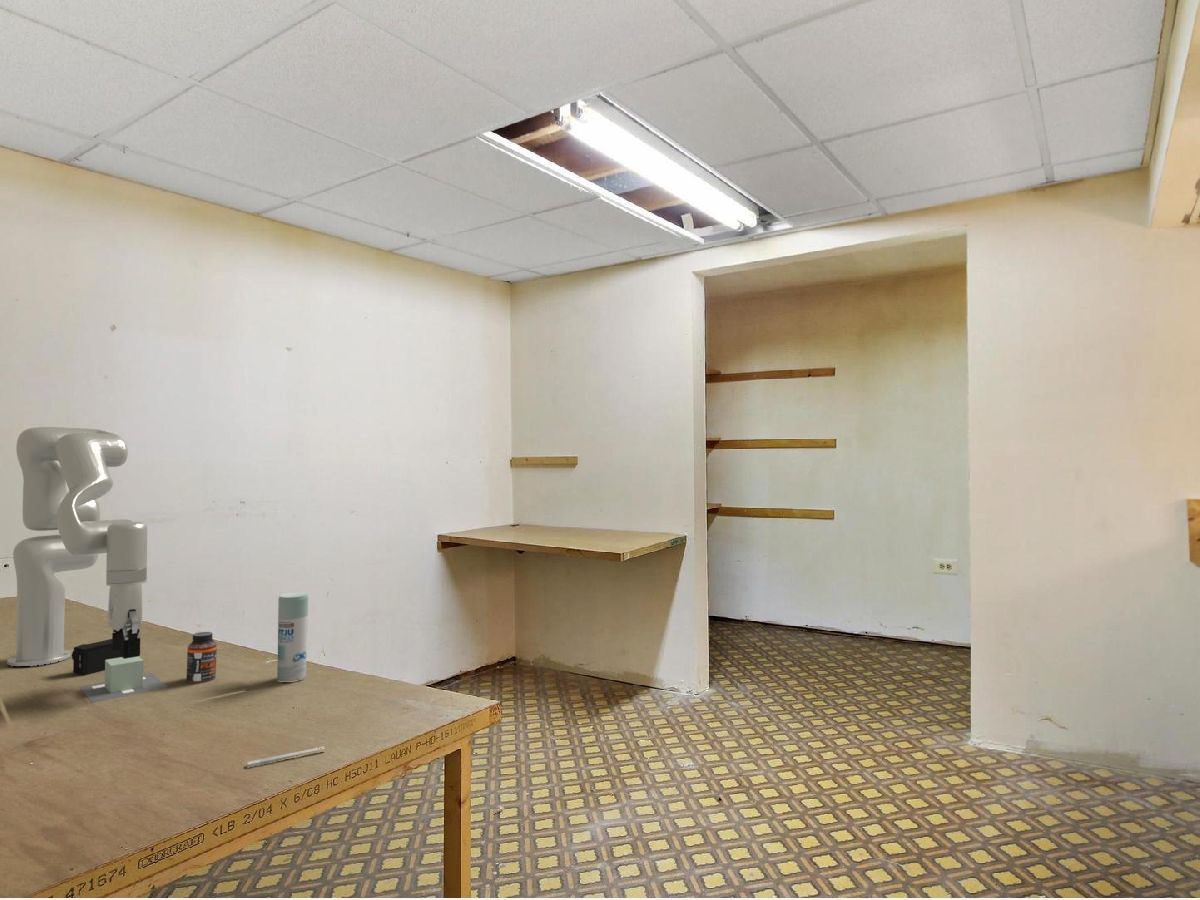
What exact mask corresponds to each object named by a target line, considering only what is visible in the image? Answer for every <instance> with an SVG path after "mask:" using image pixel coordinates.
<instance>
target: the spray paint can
mask: <svg viewBox="0 0 1200 900" xmlns="http://www.w3.org/2000/svg"><path fill="white" fill-rule="evenodd" d="M277 601H278V608H277V609H278V610H277V612H278V613H277V614H278V615H277V616H278V617H277V625H278V626H277V668H276V669H277V670H276V671H277V672H276V673H277V681H278V680H279V681H294V680H300V679H302V678H304V677H305V676H306V677H307V656H308V655H307V654H308V653H307V651H308V649H307V648H308V620H309V616H308V615H309V595H308V593H307V592H302V591H300V592H297V591H296V592H294V591H293V592H286V593H282V594H280V595H279V596H278V600H277Z"/></svg>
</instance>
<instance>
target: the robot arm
mask: <svg viewBox="0 0 1200 900" xmlns="http://www.w3.org/2000/svg"><path fill="white" fill-rule="evenodd" d="M15 451H16V457H17V460H18V462H19V463H18V464H19V465H20V469H21V472H22V476H23V477H22V478H23V480H22V481H23V484H22V485H23V486H22V521H23V525H24V527H25V528H26V529H27V530H30V531H35V532H36V531H37V532H41V531H42V532H45V531H58V533H59V534H53V535H52V534H51V535H38V536H33V537H29V538H25V539H22V540H21V541H19V542H18V543H17V544H16V545H15V546H14V548H13V552H12V556H13V558H12V559H13V564H14V569H15V574H16V575H15V576H16V589H17V590H16V594H17V595H16V630H15V631H16V632H15V634H16V636H15V655H13V656H10V657H9V658H8V659H7V660H6V664H7V666H9V665H10V666H9V667H13V666H30V667H36V666H37V665H39V666H45V665H44V664H46V665H50V663H51V664H55V663H58V661H59V662H63V661H65V660H67V659H69V658H70V657H72V651H71V650H70V649H66V648H65V645H64V644H65V643H64V642H65V616H66V615H65V609H66V589H65V586H64V584H63V583H62V582H61V581H60V580H59V579H58V578H57V577H56V576H55V574H56V573H60V572H68V571H76V570H84V569H88V568H91V567H93V566H94V565H95V564H96V563H97V561H98V558H99V554H100V555H101V554H106V573H105V575H106V576H105V577H106V580H105V583H106V586H107V587H109V593H108V602H107V603H108V606H107V620H106V621H107V622H106V623H107V626H108V627H110V628H111V629H112V633H111V635H112V638H111V639H112V650H114V651H115V650H122V657H123V658H124V659H126V658H132V657H138V656H139V657H141V633H140V632H141V631H140V627H141V626H142V625H143V586H142V584H144V583H147V582H148V578H147V577H148V575H147V574H148V526H147V524H146V523H144V522H142V521H132V520H131V519H130V520H129V519H106V520H105V519H103V520H101V509H100V505H99V502H98V500H97V499H99V498H102V497H103V496H105V495H106V494H108V493H109V492H110V491H111V490H112V488H113V484H114V483H113V479H112V477H111V474H110V471H109V469H108V468H117V467H121V466H122V465H124V464H125V462H126V461H127V460H128V456H129V455H128V454H129V450H128V446H127V443H126V442H125V440H124V439H123V438H122V437H121V436H120V435H118V434H117V433H113V432H109V431H106V430H102V429H96V428H79V427H78V428H76V427H75V428H73V427H64V426H63V427H62V426H59V427H58V426H38V427H31V428H26V429H24V430H23V431H22V432H21V433H20V434H19V436H18V438H17V440H16V450H15ZM56 461H57V462H58V463H59V464H58V463H57V462H56ZM67 487H68V492H67Z"/></svg>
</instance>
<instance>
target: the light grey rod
mask: <svg viewBox="0 0 1200 900" xmlns="http://www.w3.org/2000/svg"><path fill="white" fill-rule="evenodd" d="M318 747H319V749H318ZM318 747H314V748H308V749H305V750H301V751H294V752H290V753H284V754H281V755H275V756H271V757H266V758H260V759H256V760H251V761H246V767H247V769H251V768H250V767H252V768H255V767H254V766H257V767H259V766H258V765H262V766H264V765H263V764H267V763H269V762H274V761H279V760H282V759H286V758H290V757H294V756H298V755H301V754H304V753H308V752H312V751H317V750H322V749H325V750H326V747H325V746H318ZM320 748H322V749H320ZM267 765H268V764H267Z"/></svg>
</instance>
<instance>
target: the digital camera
mask: <svg viewBox="0 0 1200 900" xmlns="http://www.w3.org/2000/svg"><path fill="white" fill-rule="evenodd" d="M120 657H122V650H115V651H114V650H112V638H108V639H105V640H99V641H95V642H91V643H86V644H85V643H83V644H79V645H77V646H74V647H73V651H72V652H71V658H72V662H73V664H72V665H73V671H72V672H73V674H74V675H78V676H89V675H92V674H96V673H100V672H103V671H104V672H105V660H108V659H114V658H120Z"/></svg>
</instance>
